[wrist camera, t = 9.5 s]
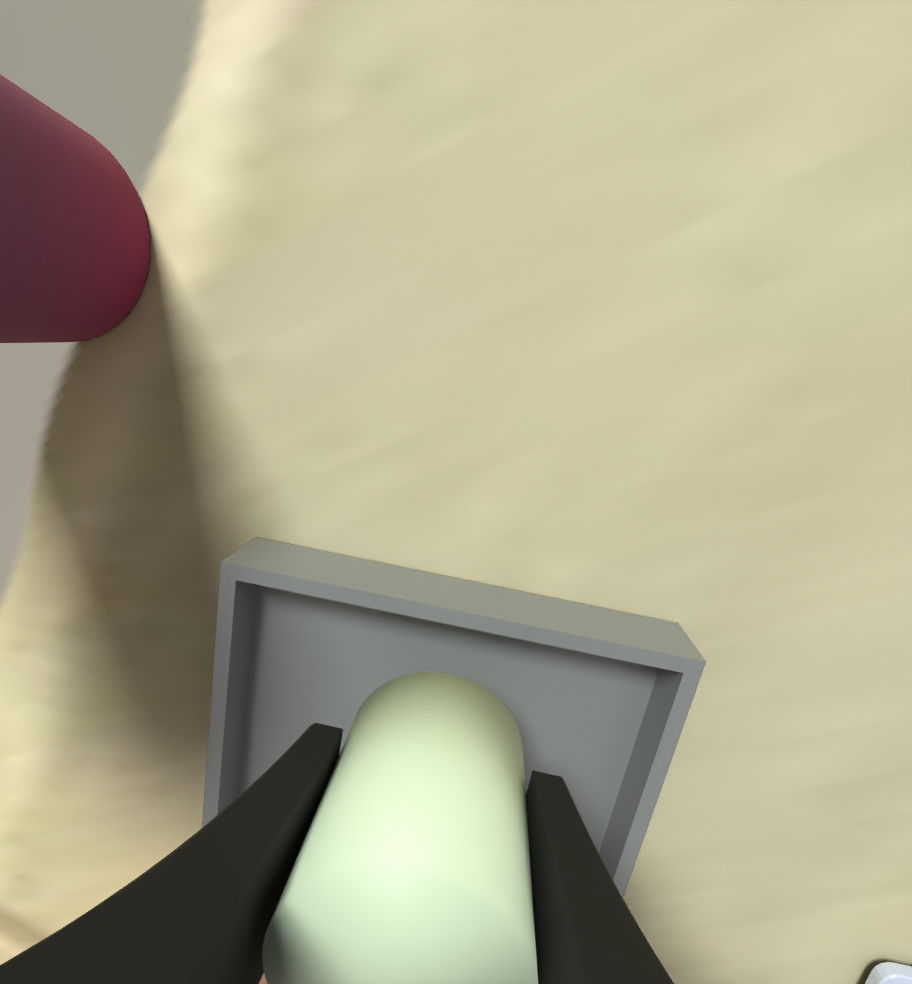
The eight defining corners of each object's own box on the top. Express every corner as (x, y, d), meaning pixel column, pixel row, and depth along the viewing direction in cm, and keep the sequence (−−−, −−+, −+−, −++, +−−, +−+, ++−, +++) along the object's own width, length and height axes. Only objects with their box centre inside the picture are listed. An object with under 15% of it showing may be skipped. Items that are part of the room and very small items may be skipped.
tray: (678, 623, 13) (706, 661, 12) (570, 950, 16) (579, 1020, 14) (256, 537, 14) (220, 561, 12) (226, 872, 17) (194, 931, 15)
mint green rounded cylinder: (540, 693, 11) (567, 904, 7) (503, 835, 12) (506, 1103, 8) (362, 655, 11) (275, 838, 7) (340, 799, 12) (251, 1040, 8)
